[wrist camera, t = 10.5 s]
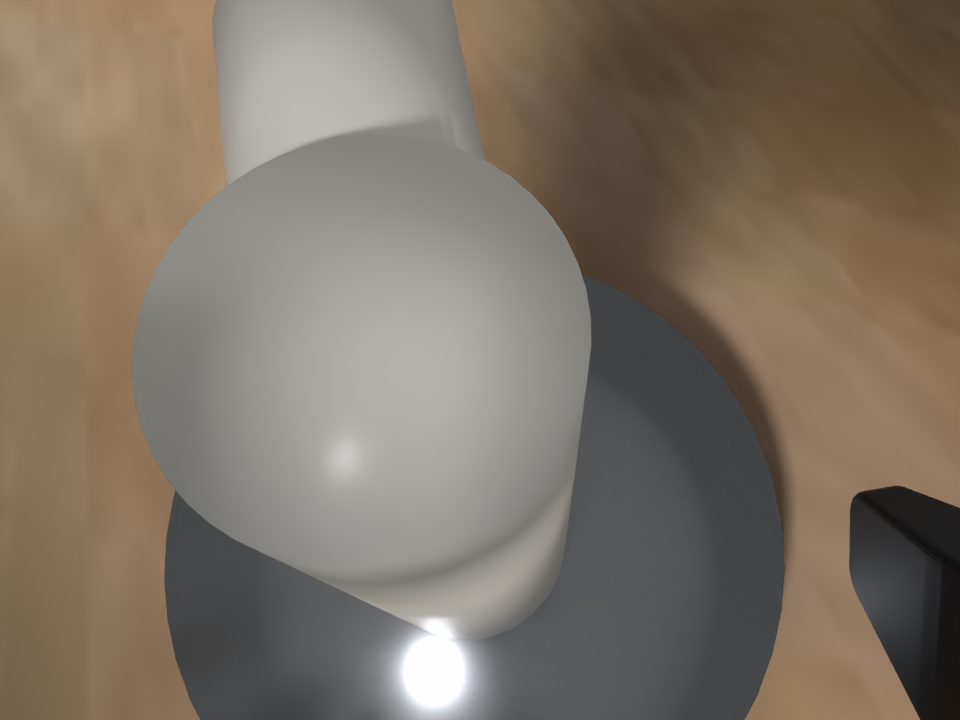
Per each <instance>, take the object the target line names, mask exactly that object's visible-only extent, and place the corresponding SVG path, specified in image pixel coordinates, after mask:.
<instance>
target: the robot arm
mask: <svg viewBox="0 0 960 720" xmlns="http://www.w3.org/2000/svg"><path fill="white" fill-rule="evenodd" d="M849 566H850V575H851V579H852V583H853V586H854V589H855V592H856V594H857V596H858V598H859V600H860V602H861V604H862V606H863V608H864V610H865V612H866V614H867V616H868V618H869V620H870V622H871V624H872V625H873V627H874V629H875V631H876V633H877V635H878V637H879V639H880V641H881V643H882V645H883V647H884V649H885V651H886V653H887V655H888V657H889V659H890V661H891V663H892V665H893V667H894V669H895V671H896V673H897V675H898V677H899V679H900V681H901V683H902V685H903V687H904V689H905V691H906V693H907V695H908V697H909V698H910V700H911V702H912V704H913V706H914V708H915V710H916V712H917V714H918V716H919V718H920V720H960V508H958V507H956V506H953V505H950V504H948V503H945V502H942V501H940V500H937V499H934V498H932V497H929V496H926V495H924V494H921V493H919V492H916V491H913V490H911V489H908V488H905V487H902V486H890V487H885V488H879V489H874V490H868V491H862V492H859V493H858V494H857V495H856V496H855V497H854V498H853V500H852V503H851V508H850V558H849Z"/></svg>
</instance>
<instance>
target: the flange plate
mask: <svg viewBox="0 0 960 720" xmlns="http://www.w3.org/2000/svg"><path fill="white" fill-rule="evenodd" d="M581 274H582V273H581ZM582 277H583V281H584V284H585V287H586V291H587V297H588V303H589V309H590V315H591V352H590V360H589V369H588V377H587V385H586V392H585V400H584V407H583V415H582V422H581V430H580V437H579V445H578V453H577V460H576V468H575V475H574V483H573V490H572V498H571V505H570V513H569V520H568V528H567V536H566V543H565V551H564V558H563V562H562V566H561V570H560V573H559V575H558V578H557V580H556V583H555V585H554V587H553V588H552V590H551V592H550V594H549V595H548V597H547V598H546V599H545V601H544V602H543V603H542V605H541V606H540V607H539V608H538V609H537V610H536V611H535V612H534V613H533V614H532V615H531V616H530V617H528V618H527V619H526V620H524V621H523V622H522V623H520V624H519V625H517V626H515V627H514V628H512V629H510V630H508V631H505V632H503V633H501V634H498V635H495V636H491V637H487V638H482V639H473V640H459V639H452V638H446V637H442V636H439V635H436V634H433V633H430V632H428V631H426V630H424V629H422V628H420V627H417V626H415V625H413V624H411V623H409V622H407V621H405V620H403V619H401V618H398V617H396V616H394V615H392V614H390V613H388V612H386V611H384V610H382V609H379V608H377V607H375V606H373V605H371V604H369V603H367V602H365V601H363V600H360V599H358V598H356V597H354V596H352V595H350V594H348V593H346V592H344V591H342V590H339V589H337V588H335V587H333V586H331V585H329V584H327V583H325V582H323V581H320V580H318V579H316V578H314V577H312V576H310V575H308V574H306V573H304V572H301V571H299V570H297V569H295V568H293V567H291V566H289V565H287V564H285V563H282V562H280V561H278V560H276V559H274V558H272V557H270V556H268V555H266V554H263V553H261V552H259V551H257V550H255V549H253V548H251V547H249V546H247V545H244V544H242V543H240V542H238V541H236V540H234V539H233V538H231V537H230V536H228V535H227V534H225V533H223V532H222V531H220V530H219V529H217V528H216V527H214V526H213V525H211V524H210V523H208V522H207V521H206V520H205V519H204V518H203V517H202V516H201V515H199V514H198V513H197V512H196V511H195V510H194V509H193V508H192V507H190V506H189V505H188V504H187V503H186V502H185V500H184V499H183V498H182V497H181V496H180V495H179V493H178V492H177V491H176V492H175V495H174V499H173V504H172V510H171V515H170V521H169V527H168V532H167V538H166V557H165V578H164V579H165V592H166V605H167V618H168V624H169V628H170V633H171V638H172V642H173V647H174V652H175V657H176V661H177V664H178V667H179V669H180V672H181V675H182V678H183V681H184V683H185V686H186V689H187V692H188V695H189V698H190V700H191V702H192V704H193V706H194V708H195V710H196V712H197V714H198V716H199V718H200V720H745V718H746V716H747V714H748V712H749V710H750V708H751V706H752V704H753V703H754V701H755V699H756V697H757V695H758V692H759V689H760V686H761V684H762V681H763V678H764V675H765V673H766V670H767V667H768V664H769V661H770V659H771V656H772V653H773V648H774V643H775V639H776V634H777V629H778V625H779V620H780V615H781V609H782V596H783V582H784V569H785V568H784V550H783V533H782V523H781V518H780V513H779V508H778V502H777V497H776V492H775V487H774V483H773V480H772V477H771V474H770V471H769V468H768V465H767V462H766V459H765V456H764V453H763V450H762V447H761V445H760V443H759V441H758V439H757V437H756V435H755V432H754V430H753V428H752V426H751V424H750V422H749V420H748V418H747V416H746V414H745V412H744V410H743V408H742V407H741V405H740V404H739V402H738V401H737V399H736V398H735V396H734V395H733V393H732V391H731V390H730V388H729V387H728V385H727V384H726V382H725V381H724V379H723V378H722V377H721V375H720V374H719V373H718V372H717V371H716V370H715V368H714V367H713V366H712V365H711V364H710V362H709V361H708V360H707V359H706V358H705V356H704V355H703V354H702V353H701V352H700V351H699V349H698V348H697V347H695V346H694V345H693V344H692V343H691V342H690V341H689V340H688V339H687V338H686V337H685V336H684V335H683V334H681V333H680V332H679V331H678V330H677V329H676V328H675V327H674V326H673V325H672V324H671V323H669V322H668V321H666V320H665V319H664V318H662V317H661V316H659V315H658V314H657V313H655V312H654V311H653V310H651V309H650V308H648V307H647V306H646V305H644V304H643V303H641V302H640V301H638V300H636V299H634V298H633V297H631V296H629V295H627V294H625V293H623V292H622V291H620V290H618V289H616V288H614V287H612V286H611V285H609V284H607V283H604V282H602V281H599V280H597V279H594V278H592V277H589V276H587V275H584V274H582Z"/></svg>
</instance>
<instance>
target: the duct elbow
mask: <svg viewBox="0 0 960 720" xmlns="http://www.w3.org/2000/svg"><path fill="white" fill-rule="evenodd" d="M212 25H213V41H214V52H215V64H216V75H217V86H218V98H219V109H220V121H221V132H222V144H223V155H224V166H225V178H226V187H225V188H224V189H223V190H221V191H220V192H219V193H218V194H217V195H215V196H214V197H213V198H212V199H210V200H209V201H208V202H207V203H206V204H205V205H204V206H203V207H202V208H201V209H200V210H199V211H198V212H197V213H196V214H195V215H194V216H193V217H192V218H191V219H190V220H189V221H188V223H187V224H186V225H185V227H184V228H183V229H182V230H181V232H180V233H179V234H178V236H177V237H176V238H175V239H174V241H173V242H172V243H171V245H170V247H169V248H168V250H167V252H166V253H165V255H164V257H163V258H162V260H161V262H160V263H159V265H158V267H157V268H156V271H155V273H154V275H153V277H152V280H151V282H150V284H149V286H148V289H147V291H146V293H145V296H144V300H143V303H142V306H141V310H140V313H139V316H138V320H137V325H136V331H135V338H134V344H133V361H132V379H133V388H134V397H135V404H136V408H137V412H138V416H139V420H140V424H141V427H142V431H143V433H144V436H145V438H146V440H147V443H148V445H149V448H150V450H151V452H152V455H153V457H154V459H155V460H156V462H157V463H158V465H159V467H160V468H161V470H162V472H163V473H164V475H165V477H166V478H167V480H168V481H169V483H170V484H171V485H172V486H173V487H174V489H175V490H176V491H177V492H178V493H179V495H180V496H181V497H182V498H183V499H184V500H185V502H186V503H187V504H188V505H189V506H190V507H192V508H193V509H194V510H195V511H196V512H197V513H198V514H199V515H201V516H202V517H203V518H204V519H205V520H206V521H207V522H208V523H210V524H211V525H213V526H214V527H216V528H217V529H219V530H220V531H222V532H223V533H225V534H227V535H228V536H230V537H231V538H233V539H234V540H236V541H238V542H240V543H242V544H244V545H247V546H249V547H251V548H253V549H255V550H257V551H259V552H261V553H263V554H266V555H268V556H270V557H272V558H274V559H276V560H278V561H280V562H282V563H285V564H287V565H289V566H291V567H293V568H295V569H297V570H299V571H301V572H304V573H306V574H308V575H310V576H312V577H314V578H316V579H318V580H320V581H323V582H325V583H327V584H329V585H331V586H333V587H335V588H337V589H339V590H342V591H344V592H346V593H348V594H350V595H352V596H354V597H356V598H358V599H360V600H363V601H365V602H367V603H369V604H371V605H373V606H375V607H377V608H379V609H382V610H384V611H386V612H388V613H390V614H392V615H394V616H396V617H398V618H401V619H403V620H405V621H407V622H409V623H411V624H413V625H415V626H417V627H420V628H422V629H424V630H426V631H428V632H430V633H433V634H436V635H439V636H442V637H446V638H452V639H459V640H473V639H482V638H487V637H491V636H495V635H498V634H501V633H503V632H505V631H508V630H510V629H512V628H514V627H515V626H517V625H519V624H520V623H522V622H523V621H524V620H526V619H527V618H528V617H530V616H531V615H532V614H533V613H534V612H535V611H536V610H537V609H538V608H539V607H540V606H541V605H542V603H543V602H544V601H545V599H546V598H547V597H548V595H549V594H550V592H551V590H552V588H553V587H554V585H555V583H556V580H557V578H558V575H559V573H560V570H561V566H562V562H563V558H564V551H565V543H566V536H567V528H568V520H569V513H570V505H571V498H572V490H573V483H574V475H575V468H576V460H577V453H578V445H579V437H580V430H581V422H582V415H583V407H584V400H585V392H586V385H587V377H588V369H589V360H590V352H591V315H590V309H589V303H588V297H587V291H586V287H585V284H584V281H583V277H582V274H581V271H580V268H579V265H578V262H577V260H576V258H575V256H574V254H573V252H572V249H571V247H570V245H569V243H568V241H567V239H566V237H565V236H564V234H563V233H562V231H561V230H560V228H559V227H558V225H557V224H556V222H555V221H554V219H553V218H552V216H551V215H550V214H549V213H548V212H547V210H546V209H545V208H544V207H543V206H542V205H541V204H540V203H539V202H538V200H537V199H536V198H535V197H534V196H533V195H532V194H531V193H530V192H529V191H527V190H526V189H525V188H524V187H523V186H522V185H520V184H519V183H518V182H517V181H516V180H515V179H513V178H512V177H510V176H509V175H507V174H506V173H504V172H503V171H501V170H500V169H498V168H497V167H495V166H494V165H492V164H491V163H489V162H486V161H485V158H484V153H483V148H482V144H481V139H480V134H479V129H478V125H477V120H476V115H475V110H474V105H473V101H472V96H471V91H470V86H469V82H468V77H467V72H466V67H465V62H464V58H463V53H462V48H461V43H460V39H459V34H458V29H457V24H456V19H455V15H454V10H453V5H452V1H451V0H217V1H216V4H215V7H214V12H213V18H212Z"/></svg>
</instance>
